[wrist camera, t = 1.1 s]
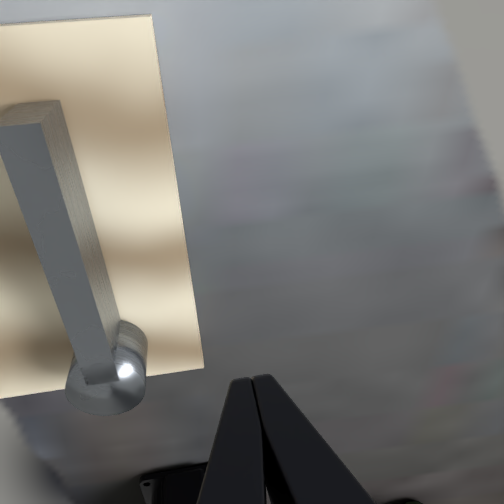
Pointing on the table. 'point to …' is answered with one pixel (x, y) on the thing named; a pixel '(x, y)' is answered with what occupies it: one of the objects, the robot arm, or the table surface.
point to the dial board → (97, 196)
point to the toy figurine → (413, 502)
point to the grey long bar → (72, 260)
